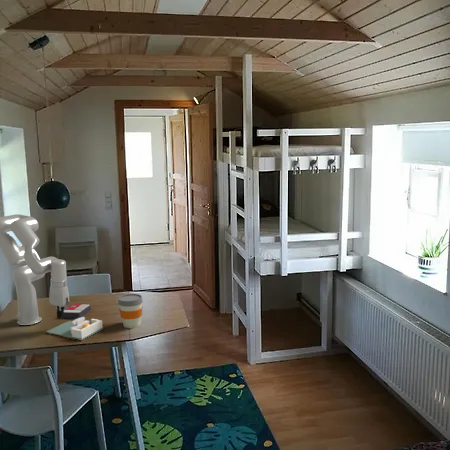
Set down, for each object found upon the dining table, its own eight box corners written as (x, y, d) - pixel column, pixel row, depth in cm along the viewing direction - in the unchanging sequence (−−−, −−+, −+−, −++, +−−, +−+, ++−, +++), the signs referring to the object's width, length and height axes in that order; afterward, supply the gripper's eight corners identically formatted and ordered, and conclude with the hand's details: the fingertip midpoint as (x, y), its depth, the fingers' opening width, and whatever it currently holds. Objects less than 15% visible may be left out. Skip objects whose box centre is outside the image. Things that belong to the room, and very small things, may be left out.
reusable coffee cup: (118, 322, 258) (116, 295, 256) (141, 318, 263) (139, 292, 260) (122, 330, 247) (119, 302, 244) (146, 326, 251) (144, 299, 249)
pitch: (46, 333, 247) (45, 331, 246) (69, 322, 261) (68, 320, 260) (81, 341, 236) (81, 339, 236) (103, 329, 250) (103, 327, 250)
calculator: (90, 303, 280) (79, 311, 265) (91, 311, 280) (79, 319, 265) (73, 303, 281) (60, 311, 267) (73, 310, 282) (61, 318, 267)
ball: (87, 327, 240) (86, 334, 242) (93, 323, 244) (92, 331, 246) (80, 323, 242) (79, 331, 243) (86, 320, 246) (85, 328, 247)
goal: (72, 336, 239) (71, 329, 238) (93, 325, 252) (92, 318, 251) (82, 338, 236) (81, 331, 235) (102, 327, 249) (102, 320, 248)
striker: (69, 333, 242) (68, 323, 241) (84, 325, 252) (83, 315, 251) (74, 334, 241) (73, 324, 240) (89, 326, 250) (89, 316, 249)
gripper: (42, 283, 247) (44, 316, 251) (64, 288, 241) (65, 322, 245) (53, 279, 254) (55, 311, 258) (75, 284, 247) (76, 317, 251)
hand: (60, 317), depth 251 cm, fingers closed
